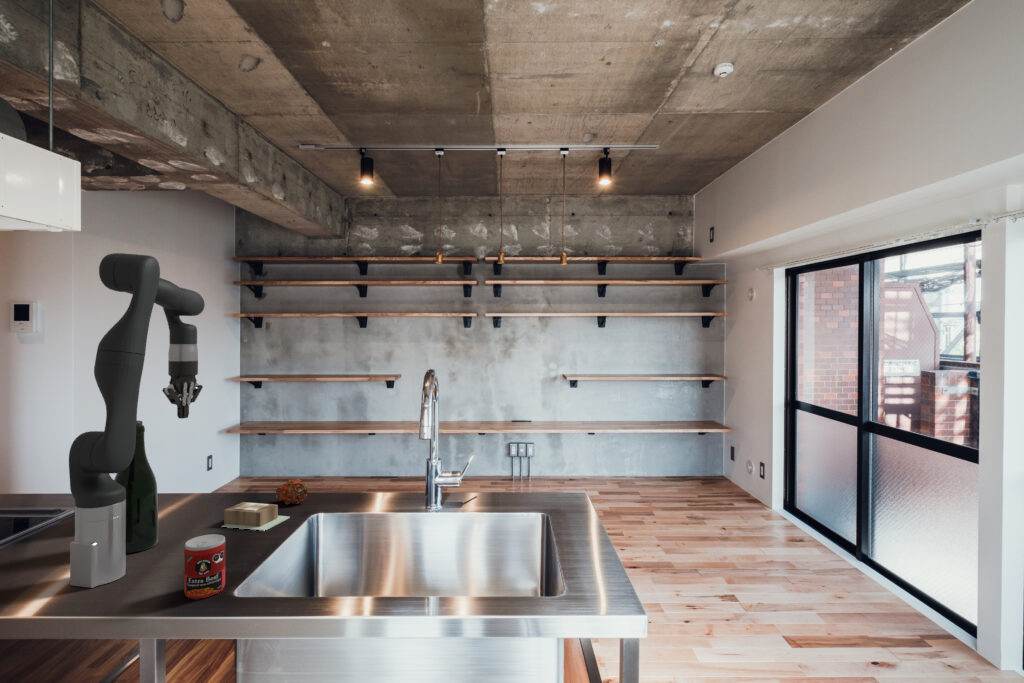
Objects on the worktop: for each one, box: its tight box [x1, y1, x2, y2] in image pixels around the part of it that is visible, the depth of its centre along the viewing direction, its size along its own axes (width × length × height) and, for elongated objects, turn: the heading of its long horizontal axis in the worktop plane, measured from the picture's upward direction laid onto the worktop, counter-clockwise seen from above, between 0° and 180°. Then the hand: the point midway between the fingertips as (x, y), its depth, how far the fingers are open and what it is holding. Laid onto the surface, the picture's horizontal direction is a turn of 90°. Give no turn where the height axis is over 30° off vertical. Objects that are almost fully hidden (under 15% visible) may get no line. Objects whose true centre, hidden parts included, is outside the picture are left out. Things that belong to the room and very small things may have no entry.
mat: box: [221, 515, 291, 532], centre depth 162 cm, size 12×14×1 cm
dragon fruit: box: [275, 478, 311, 505], centre depth 182 cm, size 8×8×12 cm
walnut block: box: [223, 501, 279, 527], centre depth 162 cm, size 8×4×12 cm
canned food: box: [183, 533, 226, 600], centre depth 118 cm, size 8×8×11 cm
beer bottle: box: [113, 420, 159, 555], centre depth 142 cm, size 10×10×33 cm
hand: (183, 418), depth 161 cm, fingers closed
